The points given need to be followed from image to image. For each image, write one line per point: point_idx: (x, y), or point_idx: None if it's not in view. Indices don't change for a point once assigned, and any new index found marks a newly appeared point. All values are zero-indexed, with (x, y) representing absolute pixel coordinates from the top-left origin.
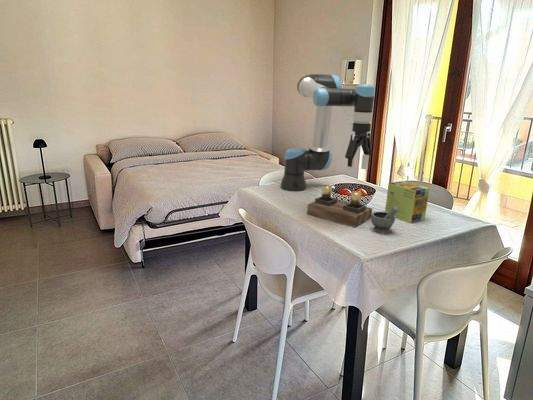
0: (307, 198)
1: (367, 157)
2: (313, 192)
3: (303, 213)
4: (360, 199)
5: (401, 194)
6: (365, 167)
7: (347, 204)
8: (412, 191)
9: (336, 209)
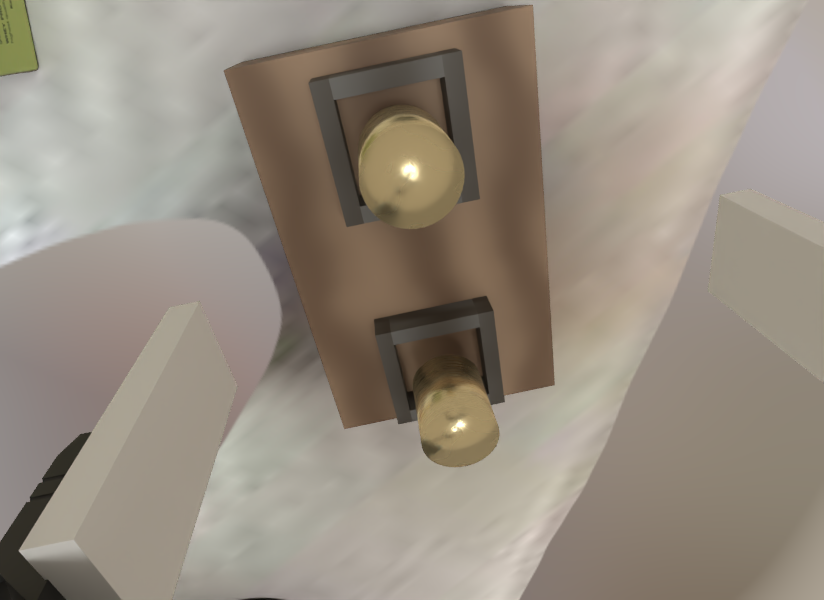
0: (323, 512)
1: (111, 489)
2: (215, 563)
3: None
4: (380, 118)
5: None
6: (199, 343)
7: None
8: None
9: (498, 223)
